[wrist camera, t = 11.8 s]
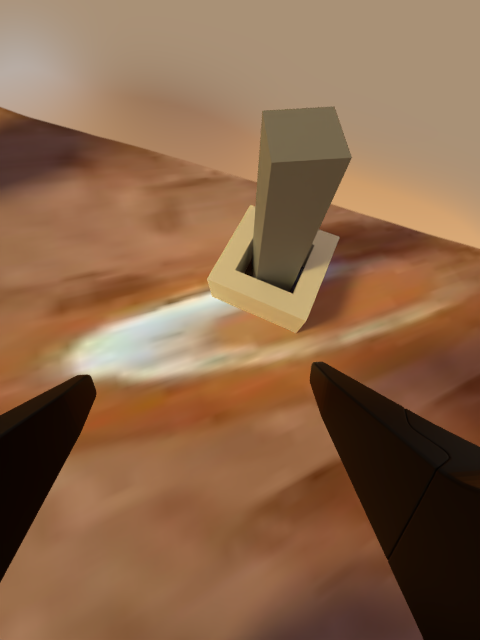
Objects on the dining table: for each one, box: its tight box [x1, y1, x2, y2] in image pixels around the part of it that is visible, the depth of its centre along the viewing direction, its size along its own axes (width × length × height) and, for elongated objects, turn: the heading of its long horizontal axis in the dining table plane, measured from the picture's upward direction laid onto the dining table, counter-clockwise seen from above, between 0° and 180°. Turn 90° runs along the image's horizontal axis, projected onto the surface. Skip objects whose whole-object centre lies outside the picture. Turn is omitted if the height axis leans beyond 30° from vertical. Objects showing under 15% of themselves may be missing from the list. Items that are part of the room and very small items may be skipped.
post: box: [251, 107, 352, 292], centre depth 19 cm, size 4×4×15 cm
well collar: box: [207, 205, 340, 333], centre depth 24 cm, size 10×10×4 cm
